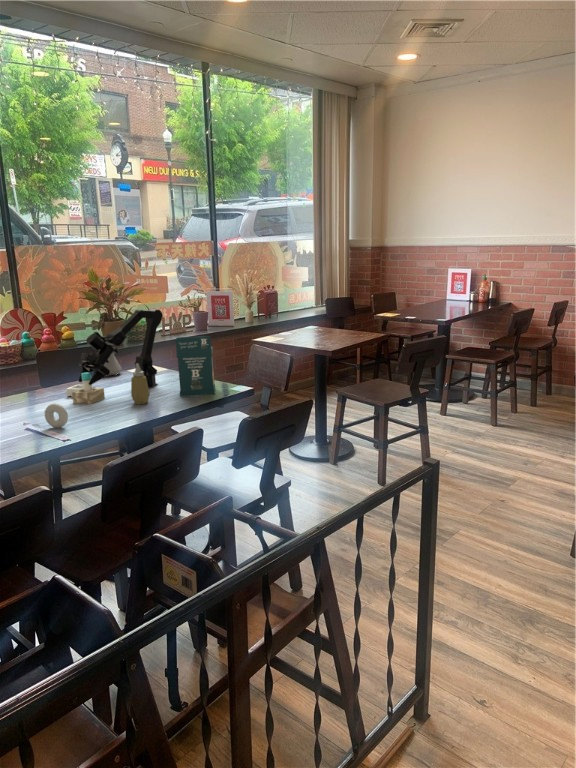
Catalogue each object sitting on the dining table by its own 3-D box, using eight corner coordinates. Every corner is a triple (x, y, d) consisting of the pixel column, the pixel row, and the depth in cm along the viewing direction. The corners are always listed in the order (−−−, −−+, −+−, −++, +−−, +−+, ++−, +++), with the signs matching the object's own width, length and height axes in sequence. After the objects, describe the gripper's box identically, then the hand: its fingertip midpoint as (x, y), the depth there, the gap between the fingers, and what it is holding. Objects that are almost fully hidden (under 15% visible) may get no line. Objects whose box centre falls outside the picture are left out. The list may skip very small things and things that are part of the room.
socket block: (104, 398, 265) (103, 387, 264) (91, 403, 256) (90, 393, 254) (86, 397, 268) (85, 386, 267) (73, 402, 259) (71, 392, 257)
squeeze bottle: (153, 400, 258) (149, 362, 253) (144, 405, 250) (140, 366, 246) (137, 400, 260) (134, 362, 255) (128, 404, 252) (124, 365, 248)
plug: (91, 398, 265) (87, 371, 262) (95, 400, 262) (92, 373, 259) (82, 400, 262) (79, 373, 259) (87, 402, 259) (84, 374, 256)
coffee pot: (107, 372, 321) (104, 346, 317) (125, 372, 319) (123, 346, 315) (87, 381, 300) (84, 353, 297) (107, 381, 298) (104, 353, 295)
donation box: (180, 396, 264) (175, 337, 257) (183, 388, 279) (178, 332, 272) (214, 394, 265) (210, 335, 258) (215, 386, 281) (211, 330, 274)
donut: (71, 427, 223) (68, 402, 221) (65, 429, 220) (62, 405, 217) (50, 425, 226) (46, 401, 223) (44, 428, 223) (40, 404, 220)
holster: (92, 393, 275) (91, 385, 274) (82, 397, 267) (81, 389, 266) (78, 392, 277) (77, 384, 276) (67, 396, 270) (66, 388, 269)
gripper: (80, 343, 265) (61, 371, 259) (101, 347, 252) (81, 376, 247) (97, 357, 272) (79, 384, 267) (118, 361, 260) (99, 389, 255)
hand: (84, 383), depth 259 cm, fingers open, 9 cm apart
